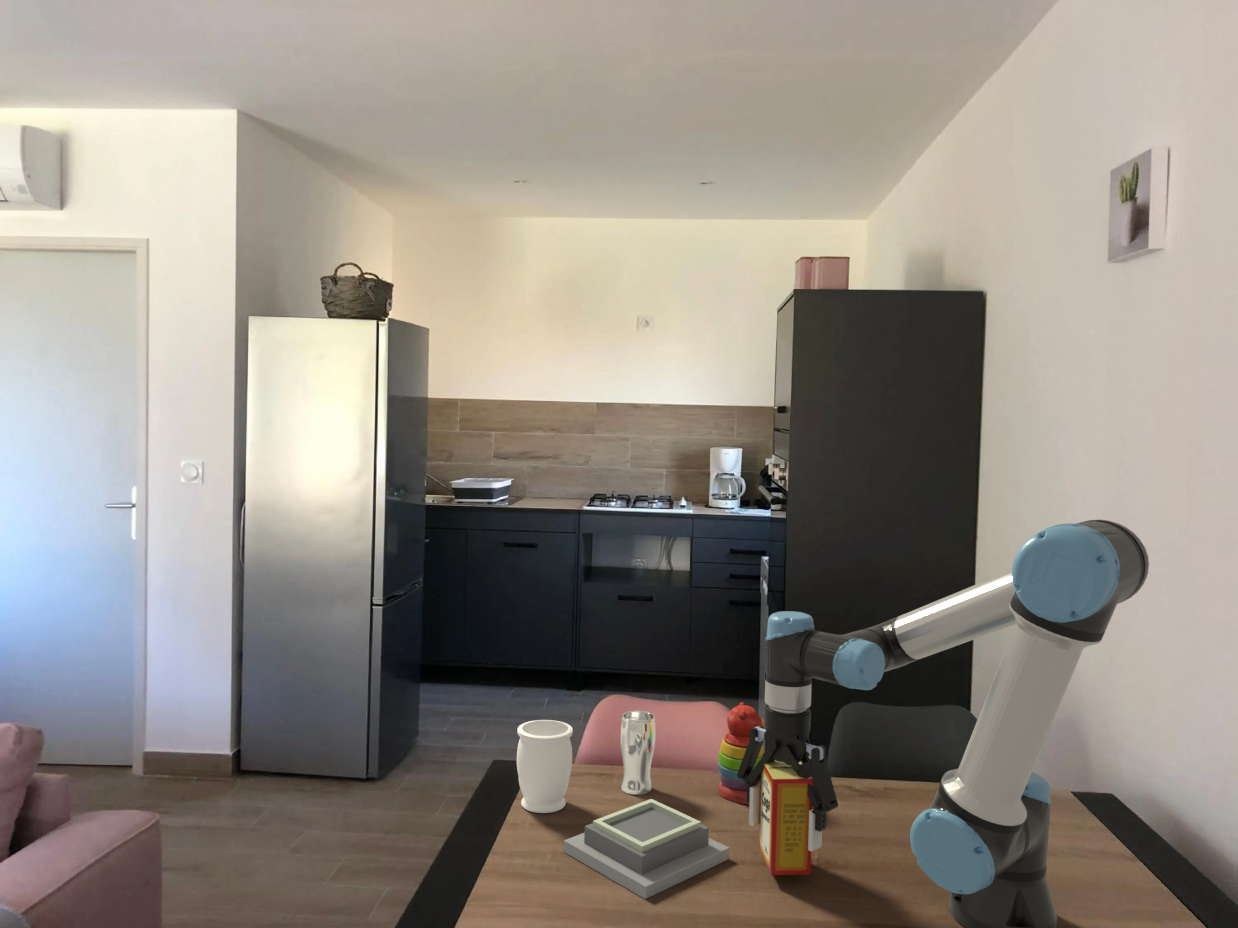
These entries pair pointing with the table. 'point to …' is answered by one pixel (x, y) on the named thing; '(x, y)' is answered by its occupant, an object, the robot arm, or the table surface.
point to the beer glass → (637, 751)
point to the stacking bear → (736, 752)
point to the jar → (544, 764)
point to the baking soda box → (784, 820)
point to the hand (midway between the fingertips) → (784, 835)
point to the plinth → (647, 847)
